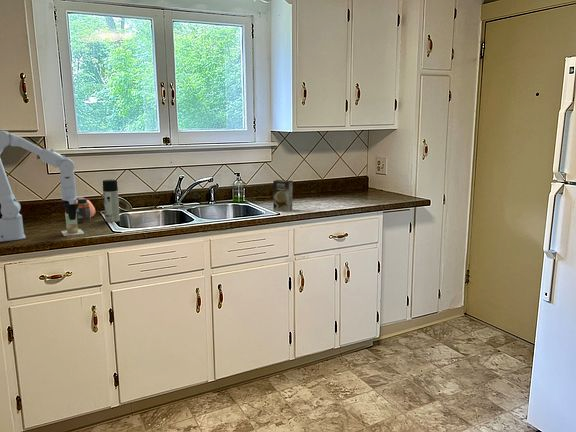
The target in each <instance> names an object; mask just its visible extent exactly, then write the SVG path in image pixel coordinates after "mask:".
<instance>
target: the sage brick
mask: <svg viewBox="0 0 576 432" xmlns="http://www.w3.org/2000/svg"><path fill="white" fill-rule="evenodd" d="M64 216H65V224H67V225H69V224H78V220H77V214H76V219H75V220H70V219H69V216H68V214H65V213H64Z"/></svg>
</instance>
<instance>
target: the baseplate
mask: <svg viewBox="0 0 576 432" xmlns="http://www.w3.org/2000/svg"><path fill="white" fill-rule="evenodd" d="M61 233H62V235H63V236H64V237H65V236H75V235H84V234H85V232H84V231H83V230H82V228H78V233H71V234H68V233H67V230H61Z"/></svg>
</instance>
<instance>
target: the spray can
mask: <svg viewBox="0 0 576 432" xmlns="http://www.w3.org/2000/svg"><path fill="white" fill-rule="evenodd" d="M102 193H103V207H104V210H103V211H104V220H105V222H107V223H108V222H109V223H118V222H120V220H121V219H120V203H119V200H120V199H119V188H118V180H117V179H105V180H104V179H103V180H102Z"/></svg>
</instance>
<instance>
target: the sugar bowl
mask: <svg viewBox="0 0 576 432" xmlns="http://www.w3.org/2000/svg"><path fill="white" fill-rule="evenodd" d="M80 198H81V197H80ZM80 198H77V199H76V202H75V204H77V203H78V199H80ZM87 203H89V206H90V216H91V218H92V217H93V216H95V215H96V208H95V206H94V205H93V203H92V202H91V201H90V200H89V199H87ZM65 214H66V211H65V212H64V215H65ZM76 214H77V211H76Z"/></svg>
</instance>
